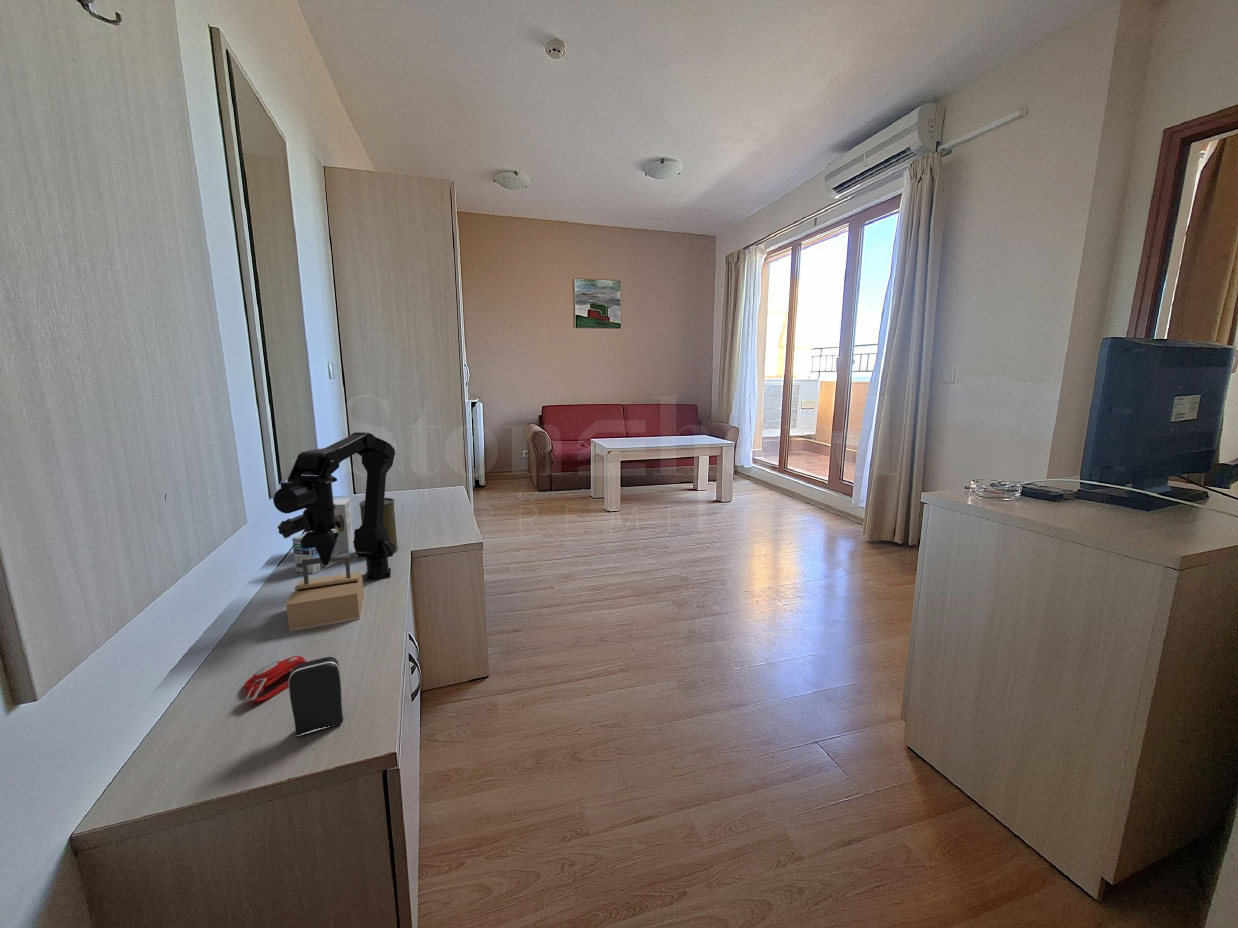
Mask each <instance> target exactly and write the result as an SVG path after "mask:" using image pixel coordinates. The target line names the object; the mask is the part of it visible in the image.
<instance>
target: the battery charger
mask: <svg viewBox="0 0 1238 928" xmlns="http://www.w3.org/2000/svg"><path fill="white" fill-rule="evenodd" d="M340 669H341V668H340V665H339V661H338V660H337V658H335V657H334V656H327V657H322V658H318V659H314V660H310V661H306V662H305V663H301V664H298V665H297V666H295V667H294V668H293V669H292V670H291V672H290V676H289V678H288V680H289V686H288V693H289V701H290V706H291V711H292V716H293V721H294V732H295V733H296V734H295V736H296V735H300V734H302V733H305V732H308V731H311V730H314V729H318V728H323V727H328V726H333V725H336V726H338V725H337V724H339V725H341V724H340V723H342V722H343V723H344V721H343V720H344V719H345V718H344V717H345V715H344V711H343V694H342V693H343V691H342V679H341V672H340V671H341V670H340ZM343 723H342V724H343ZM333 727H334V726H333Z"/></svg>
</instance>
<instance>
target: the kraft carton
mask: <svg viewBox="0 0 1238 928" xmlns="http://www.w3.org/2000/svg"><path fill="white" fill-rule="evenodd" d="M364 593H365V592H364V583H363V575H362V573H360V576H359V578H358V580H357V581H350V582H344V583H337V584H330V585H323V586H317V587H310V588H303V589H296V590H295V589H294V591H293V592H292V593H291V595H290V597H289V599H288V601H287V603H286V605H285V606H286V614H287V622H288V630H289V633H290V632H296V631H300V630H306V629H307V630H308V629H314V628H319V627H324V626H330V625H335V624H341V623H345V622H352V621H356V620H357V621H358V620H360V619H361V611H362V606H363V603H364V602H363V601H364V596H365V595H364Z"/></svg>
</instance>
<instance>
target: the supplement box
mask: <svg viewBox="0 0 1238 928" xmlns="http://www.w3.org/2000/svg"><path fill="white" fill-rule="evenodd" d="M333 502H334V504H335V509H334V513H335V516H337V517H339V518H340V519H341V525H342V526H341V528H338V527H337V526H336V527H335V529H337V530H338V533H339V534H338V540H339V551H340V554H343V553H349V552H350V550H351V549H352V547H353V546H354V544H353V541H354V532H353V524H352V523H353V521H352V519H353V518H352V511H351V498H350V497H347V498H333Z"/></svg>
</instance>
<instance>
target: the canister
mask: <svg viewBox="0 0 1238 928" xmlns="http://www.w3.org/2000/svg"><path fill="white" fill-rule="evenodd" d="M358 505H359V506H360V507H359V508H360V518H361V525H362V524H363V520H364V507H365V500H362V501H360V502H359V504H358ZM395 513H396V512H395V499H394V498H392V497H384V509H383V524H384V526H385V528H386V530H387V531H388V540H389V541H390V542H391V543H392V544H394V545H395V551H396V552H397V551H398V550H399V547H398V538H397V536H398V535H397V526H396V525H397V524H396V515H395Z"/></svg>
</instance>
